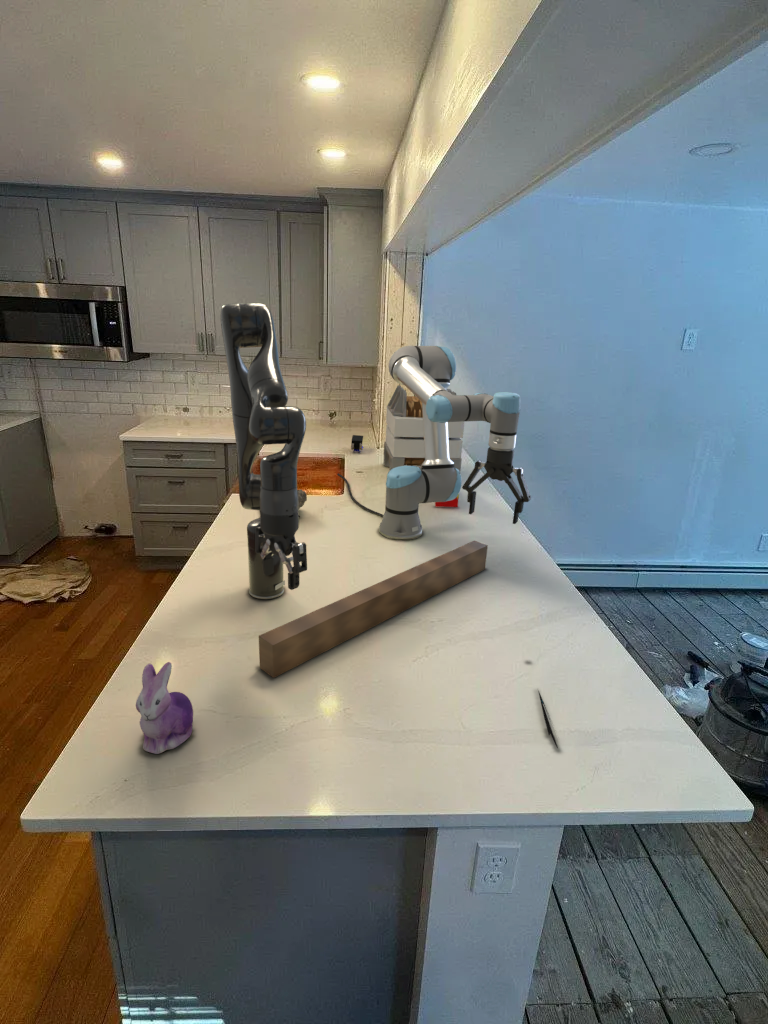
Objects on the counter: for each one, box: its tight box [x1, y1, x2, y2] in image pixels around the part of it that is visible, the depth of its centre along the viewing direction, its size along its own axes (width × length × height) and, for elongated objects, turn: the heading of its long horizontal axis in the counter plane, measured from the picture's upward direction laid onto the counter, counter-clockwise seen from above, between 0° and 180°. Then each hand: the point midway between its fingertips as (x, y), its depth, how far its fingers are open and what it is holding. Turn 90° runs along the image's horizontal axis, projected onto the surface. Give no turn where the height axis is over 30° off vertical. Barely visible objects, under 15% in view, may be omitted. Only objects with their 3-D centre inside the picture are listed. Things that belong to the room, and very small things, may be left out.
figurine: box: [135, 661, 194, 755], centre depth 100 cm, size 9×10×15 cm
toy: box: [434, 493, 460, 508], centre depth 240 cm, size 12×13×30 cm
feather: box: [528, 660, 560, 749], centre depth 116 cm, size 2×28×2 cm
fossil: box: [297, 489, 308, 518], centre depth 209 cm, size 22×10×15 cm
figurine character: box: [350, 434, 364, 454], centre depth 311 cm, size 7×8×15 cm
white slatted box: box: [383, 384, 465, 475], centre depth 268 cm, size 34×33×41 cm
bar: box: [258, 540, 489, 679], centre depth 148 cm, size 80×5×8 cm, turn 137°
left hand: (280, 581), depth 118 cm, fingers open, 8 cm apart
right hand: (492, 517), depth 169 cm, fingers open, 13 cm apart
